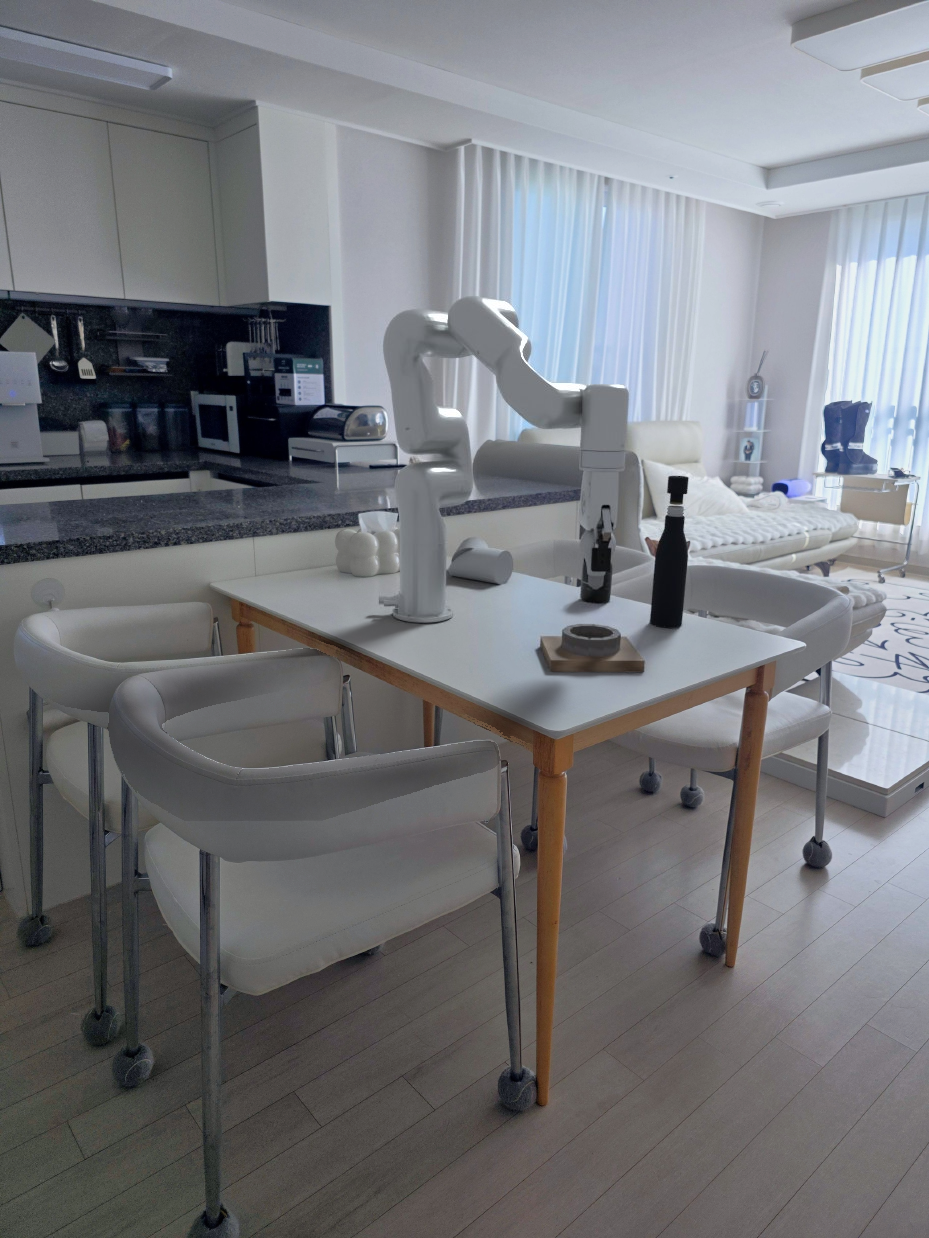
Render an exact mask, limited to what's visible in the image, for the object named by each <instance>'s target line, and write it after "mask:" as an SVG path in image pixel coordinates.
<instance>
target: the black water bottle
mask: <svg viewBox="0 0 929 1238" xmlns="http://www.w3.org/2000/svg"><path fill="white" fill-rule="evenodd" d="M689 480H690V479H689V477H688V476H686V475H685V476H683V475H668V478H667V489H666V493H667V494H670V497H669V502H668V503H669V504H670V505H668V506H667V508H666V510H667V511H666V513H667V514H665V517H664V526H663V527H664V529H663V531H662V533H661V536H660V538H659V540H658V542H657V543H658V544H657V547H656V549H655V550H656V551H655V555H654V567H653V568H654V569H653V579H652V580H653V581H652V590H651V591H652V592H651V604H650V616H649V617H650V618H649V623H650V624H651V625H653V626H655V627H659V628H665V629H674V628H679V627H681V626H682V625H683V616H684V604H685V592H686V583H687V582H686V581H687V573H688V572H687V571H688V562H689V549H688V543H687V539H686V537H687V536H686V534H685V520H686V519H685V518H686V517H685V515H684V514H685V513H684V511H685V509H684V506H683V504H684V495H687V494H688V491H689V489H688V487H689Z"/></svg>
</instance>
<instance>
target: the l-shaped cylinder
mask: <svg viewBox="0 0 929 1238" xmlns="http://www.w3.org/2000/svg"><path fill="white" fill-rule="evenodd" d="M450 562H451V563H450V565H449V567H448V570H447V572H448V574H449V575H450V576H453V577H457V578H462V579H469V580H474V581H479V582H485V583H491V584H496V585H503V584H506V583H508V582H509V580H510V579H511V577H512V574H513V572H514V571H513V570H514V558H513V554H512V553H511V552H510V551H509V550H507V549H499V548H492V547H489V545H488V544H487V543H486V542H485V540H483V539H481V538H480V537H476V536H475V537H474V536H473V537H467V538H466V539H464V540H462V542H461V543H460V544H459V546H458V547H457V549H456V551H455V553H454V554H453V555H452V557H451V561H450Z"/></svg>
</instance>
